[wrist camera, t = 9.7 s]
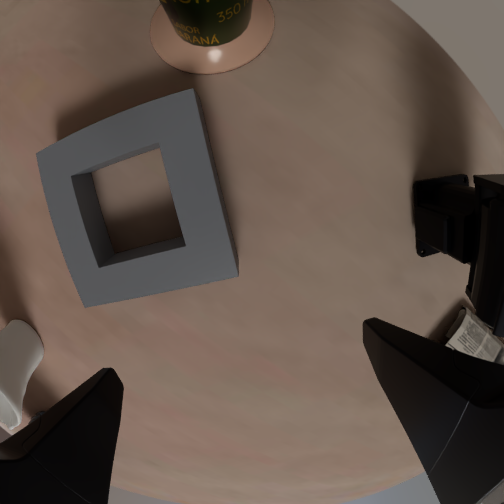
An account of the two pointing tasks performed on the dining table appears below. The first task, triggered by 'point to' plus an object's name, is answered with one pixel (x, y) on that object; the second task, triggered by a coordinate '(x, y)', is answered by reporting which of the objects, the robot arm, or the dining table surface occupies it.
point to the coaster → (217, 56)
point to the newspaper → (474, 338)
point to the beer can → (208, 20)
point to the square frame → (182, 189)
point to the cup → (17, 368)
